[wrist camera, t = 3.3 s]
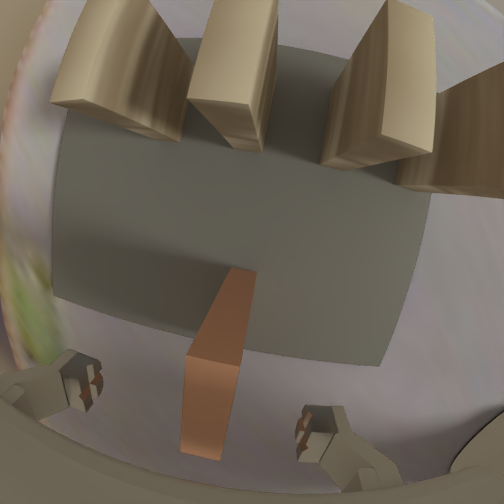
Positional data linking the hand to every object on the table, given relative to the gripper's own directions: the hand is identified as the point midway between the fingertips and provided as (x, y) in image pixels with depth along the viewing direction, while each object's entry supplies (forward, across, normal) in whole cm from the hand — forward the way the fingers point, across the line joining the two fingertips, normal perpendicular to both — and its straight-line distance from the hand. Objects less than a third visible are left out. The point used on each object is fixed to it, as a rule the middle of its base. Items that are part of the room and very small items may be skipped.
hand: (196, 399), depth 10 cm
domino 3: (+9, -5, -12) cm, 16 cm away
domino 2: (+9, 0, -12) cm, 15 cm away
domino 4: (+8, -10, -12) cm, 18 cm away
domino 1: (+9, +5, -12) cm, 16 cm away
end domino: (+9, -1, 0) cm, 9 cm away
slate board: (+10, +1, -8) cm, 12 cm away
